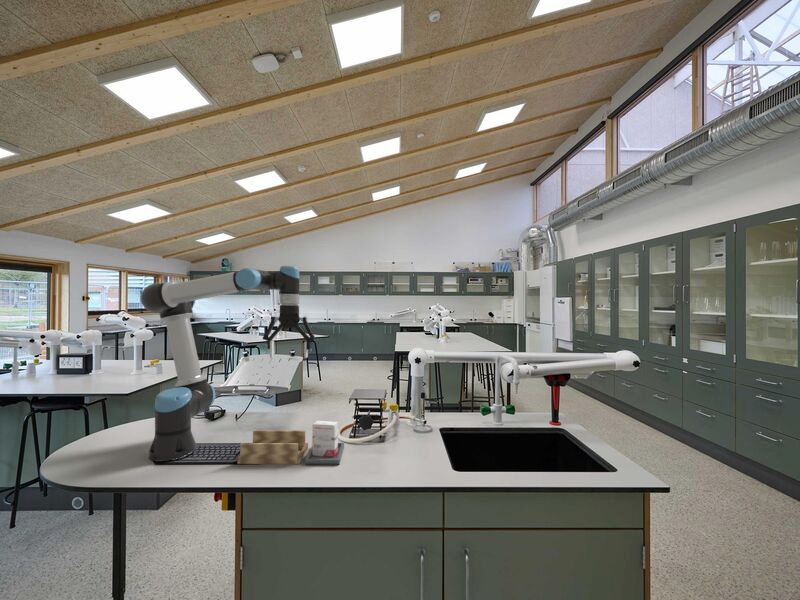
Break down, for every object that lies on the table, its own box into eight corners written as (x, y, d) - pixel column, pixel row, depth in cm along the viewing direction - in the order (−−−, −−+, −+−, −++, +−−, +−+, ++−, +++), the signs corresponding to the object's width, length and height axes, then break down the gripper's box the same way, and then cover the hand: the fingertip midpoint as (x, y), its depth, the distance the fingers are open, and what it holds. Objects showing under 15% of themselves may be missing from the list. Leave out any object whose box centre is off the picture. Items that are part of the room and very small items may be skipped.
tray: (305, 465, 136) (305, 460, 136) (313, 447, 152) (313, 442, 152) (339, 464, 137) (339, 459, 137) (344, 447, 153) (344, 442, 153)
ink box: (338, 452, 146) (338, 421, 146) (334, 457, 141) (334, 425, 141) (316, 450, 147) (316, 419, 147) (311, 455, 142) (312, 424, 142)
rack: (237, 463, 136) (237, 444, 136) (251, 448, 150) (251, 430, 150) (300, 463, 137) (300, 444, 137) (307, 448, 151) (308, 430, 151)
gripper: (254, 304, 151) (254, 358, 151) (319, 305, 152) (318, 359, 152) (261, 304, 158) (260, 355, 159) (322, 304, 159) (321, 356, 159)
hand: (288, 357), depth 155 cm, fingers open, 13 cm apart
